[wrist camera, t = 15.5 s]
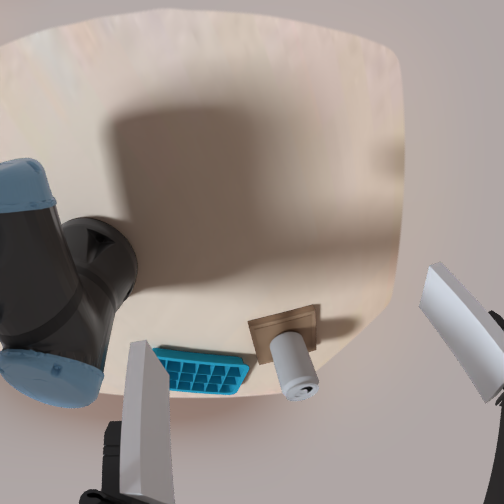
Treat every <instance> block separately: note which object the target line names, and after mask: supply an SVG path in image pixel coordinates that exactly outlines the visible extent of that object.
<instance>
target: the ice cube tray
mask: <svg viewBox="0 0 504 504" xmlns="http://www.w3.org/2000/svg"><path fill="white" fill-rule="evenodd" d="M152 350H153V351H154V353H155V354H156V356H157V358H158V359H159V361H160V362H161V364H162V365H163V367H164V368H165V370H166V371H167V372H168V374H169V390H172V391H181V392H192V393H206V394H222V395H231V394H235V393H237V391H238V389H239V387H240V385H241V384H242V382H243V380H244V378H245V376H246V374H247V372H248V370H249V366H248V365H246V364H244V363H243V360H242V358H240V357H236V356H223V355H212V354H202V353H193V352H185V351H177V350H169V349H162V348H153V349H152Z"/></svg>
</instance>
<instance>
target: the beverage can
mask: <svg viewBox="0 0 504 504" xmlns="http://www.w3.org/2000/svg"><path fill="white" fill-rule="evenodd" d="M270 350H271V354H272V357H273V361H274V365H275V368H276V372H277V376H278V379H279V383H280V386H281V390H282V393H283V394H284V395H285V396H286V398H287V399H288V400H290V401H300V400H304V399H307V398H309V397H311V396H313V395H314V394H315V393H316V392H317V391H318V390H319V386H318V383H319V380H318V377H317V374H316V372H315V369H314V366H313V364H312V361H311V358H310V356H309V353H308V350H307V348H306V345H305V342H304V340H303V337H302V336H301V335H300V334H299V333H296V332H284V333H281V334H279V335H278V336H277V337H275V338H274V339H273V340H272V341H271V343H270Z"/></svg>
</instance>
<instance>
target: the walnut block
mask: <svg viewBox="0 0 504 504" xmlns="http://www.w3.org/2000/svg"><path fill="white" fill-rule="evenodd" d="M248 325H249V329H250V333H251V336H252V340H253V344H254V347H255V351H256V355H257V358H258V362H259V365H261V364H266V363H270V362H274V361H273V357H272V354H271V350H270V343H271V341H272V340H273V339H274V338H275V337H277V336H278V335H279V334H281V333H284V332H296V333H299V334H300V335H301V336H302V337H303V340H304V342H305V345H306V348H307V350H308V352H311V351H314V350H316V314H315V308H314V306H313V305H310V306H306V307H302V308H298V309H295V310H291V311H287V312H283V313H279V314H275V315H271V316H267V317H263V318H259V319H255V320H251V321H248Z"/></svg>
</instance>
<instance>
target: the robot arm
mask: <svg viewBox="0 0 504 504" xmlns="http://www.w3.org/2000/svg"><path fill="white" fill-rule="evenodd" d="M56 204H57V202H56V199H55V198H54V197H53V195H52V193H51V190H50V187H49V183H48V180H47V177H46V173H45V170H44V168H43V166H42V165H41V164H40V163H39V162H38V161H37V160H35V159H31V158H20V159H15V160H10V161H6V162H2V163H0V342H1V343H2V346H3V349H2V351H0V374H1V375H2V377H3V378H4V379H5V380H6V381H7V382H8V383H9V384H10V385H11V386H13V387H14V388H16V390H18V391H20V392H21V393H23V394H25V395H27V396H29V397H30V398H33V399H35V400H37V401H40V402H43V403H45V404H49V405H53V406H57V407H64V408H81V407H85V406H88V405H90V404H91V403H92V402H93V401H95V400H96V399H97V397H98V394H99V390H100V387H101V384H102V380H103V379H104V373H103V372H104V366H105V360H106V355H107V350H108V345H109V340H110V335H111V330H112V326H113V321H114V317H115V313H116V311H117V310H118V309H119V308H120V306H121V305H122V304H123V302H124V301H125V300H126V299H127V298H128V297H129V295H130V294H131V292H132V290H133V288H134V285H135V281H136V276H137V260H136V256H135V253H134V251H133V249H132V247H131V245H130V244H129V242H128V241H127V239H126V238H125V237H124V236H123V235H122V234H121V233H120V232H119V231H117V230H116V229H115V228H113V227H112V226H110V225H108V224H106V223H104V222H102V221H99V220H95V219H90V218H78V219H73V220H70V221H67V222H65V223H64V224H62V225H61V222H60V219H59V215H58V212H57V208H56ZM419 308H420V309H421V310H422V311H423V313H424V314H425V315H426V317H427V318H428V319H429V321H430V322H431V323H432V325H433V326H434V327H435V329H436V330H437V332H439V334H440V335H441V337H442V338H443V340H444V341H445V343H446V344H447V345H448V347H449V348H450V349H451V351H452V352H453V354H454V356H455V357H456V358H457V360H458V361H459V363H460V364H461V366H462V367H463V369H464V370H465V372H466V373H467V375H468V376H469V378H470V379H471V381H472V383H473V384H474V386H475V387H476V389H477V390H478V392H479V394H480V395H481V397H482V399H483V400H484V402H485V403H487V402H488V401H490V400H491V399H493V398H494V397H495V396H496V395H497V394H498V393H499V392H500V391H501V390H502V389H504V320H503V318H502V317H501V316H500V315H498V314H497V313H495V312H494V311H492V310H491V311H489V312H487V311H486V310H485V309H484V307H483V306H482V305H481V304H480V303H479V302H478V300H476V298H475V297H474V296H473V295H472V294H471V293H470V292H469V291H468V290H467V289H466V287H465V286H464V285H463V284H462V283H461V282H460V281H459V280H458V279H457V278H456V277H455V276H454V275H453V274H452V273H451V272H450V271H449V270H448V269H447V268H446V267H445V266H444V265H443V264H442V263H441V262H438V263H435V264H433V265H430V266H429V269H428V274H427V278H426V282H425V286H424V290H423V294H422V298H421V301H420V305H419ZM501 401H502V402H501ZM123 402H124V403H123V413H122V421H110V422H109V424H108V427H107V429H106V431H105V435H104V448H103V455H104V456H103V465H102V489H101V491H98V490H96V489H93V490H92V489H90V490H87V491H85V492H84V493H83V494H82V495H81V497H80V500H79V504H175V499H174V488H173V475H172V459H171V442H170V441H171V439H170V403H169V374H168V372H167V371H166V370H165V368H164V367H163V365H162V364H161V362H160V361H159V359H158V358H157V356H156V354H155V353H154V351H153V350H152V348H151V347H150V345H149V344H148V342H147V340H143V341H137V342H131V343H130V349H129V356H128V364H127V372H126V381H125V391H124V401H123ZM500 402H501V404H500V405H499V406H502V409H501V419H500V428H499V435H498V442H497V448H496V453H495V459H494V464H493V469H492V473H491V477H490V482H489V486H488V489H487V493H486V497H485V500H484V503H483V504H504V392H503V393H502V394H501V396H500V397H499V398H498V399H497V401H496V403H495V405H498V404H499V403H500Z"/></svg>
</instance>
